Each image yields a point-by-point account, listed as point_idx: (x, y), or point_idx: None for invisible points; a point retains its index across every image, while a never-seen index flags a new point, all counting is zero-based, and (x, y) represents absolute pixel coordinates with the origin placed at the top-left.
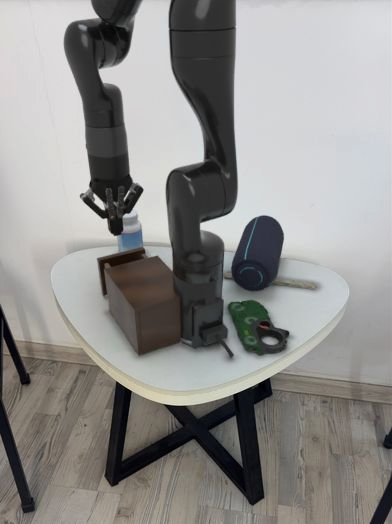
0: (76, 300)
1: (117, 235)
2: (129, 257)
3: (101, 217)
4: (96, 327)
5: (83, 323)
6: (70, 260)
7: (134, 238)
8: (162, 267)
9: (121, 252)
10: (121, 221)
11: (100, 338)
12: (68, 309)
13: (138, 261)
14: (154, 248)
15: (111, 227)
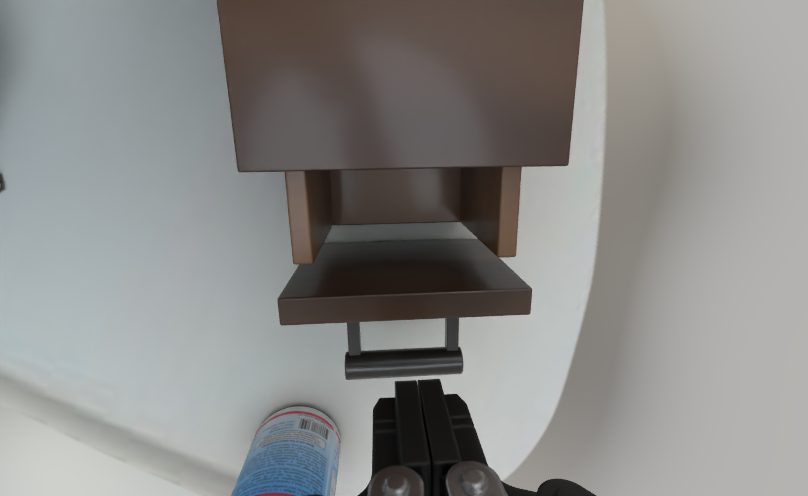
0: (551, 269)
1: (420, 380)
2: (371, 285)
3: (585, 493)
4: None
5: (582, 137)
6: None
7: (274, 473)
8: (256, 11)
9: (403, 316)
10: (383, 454)
11: None
12: (591, 233)
13: (368, 153)
14: (209, 453)
15: (463, 426)
